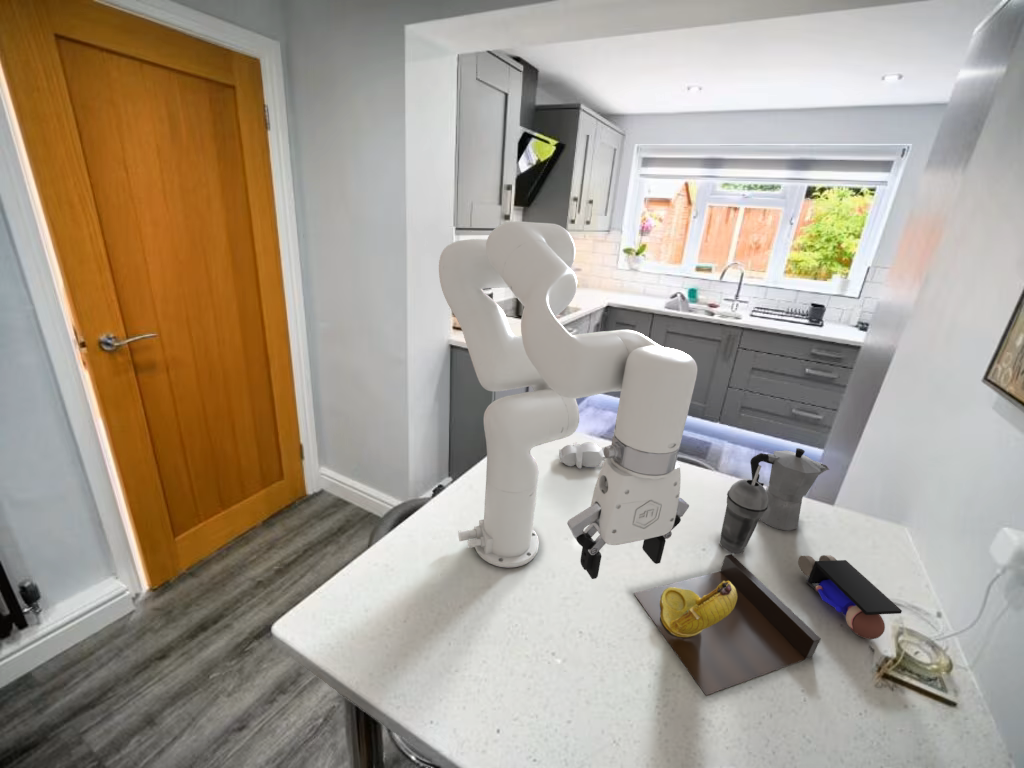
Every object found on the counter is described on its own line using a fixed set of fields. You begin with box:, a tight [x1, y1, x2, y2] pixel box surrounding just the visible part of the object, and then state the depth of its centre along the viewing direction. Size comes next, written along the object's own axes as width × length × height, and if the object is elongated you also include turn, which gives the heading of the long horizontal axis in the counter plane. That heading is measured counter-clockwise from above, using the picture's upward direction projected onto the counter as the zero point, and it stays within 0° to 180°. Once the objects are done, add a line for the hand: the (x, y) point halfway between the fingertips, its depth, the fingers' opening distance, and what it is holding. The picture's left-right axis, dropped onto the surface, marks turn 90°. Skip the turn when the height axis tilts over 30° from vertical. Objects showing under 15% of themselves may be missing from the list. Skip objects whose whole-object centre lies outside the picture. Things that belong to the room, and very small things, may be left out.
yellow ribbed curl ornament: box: [660, 581, 737, 639], centre depth 67 cm, size 12×8×15 cm
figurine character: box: [797, 554, 903, 640], centre depth 76 cm, size 7×8×15 cm
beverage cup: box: [719, 464, 768, 555], centre depth 86 cm, size 7×7×20 cm
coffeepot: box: [750, 447, 830, 531], centre depth 96 cm, size 15×9×18 cm, turn 79°
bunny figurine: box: [558, 441, 611, 469], centre depth 114 cm, size 10×5×15 cm
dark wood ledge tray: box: [633, 553, 822, 696], centre depth 71 cm, size 21×18×4 cm
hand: (620, 563), depth 58 cm, fingers open, 9 cm apart
